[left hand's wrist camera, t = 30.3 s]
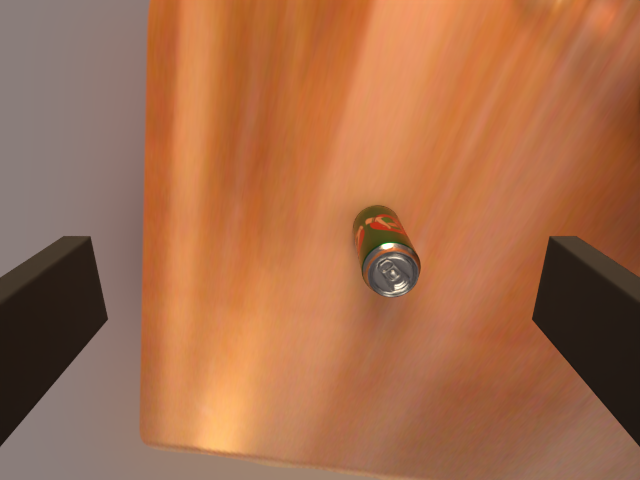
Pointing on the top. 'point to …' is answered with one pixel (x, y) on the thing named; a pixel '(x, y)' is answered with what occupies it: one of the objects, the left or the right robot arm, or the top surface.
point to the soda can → (385, 252)
